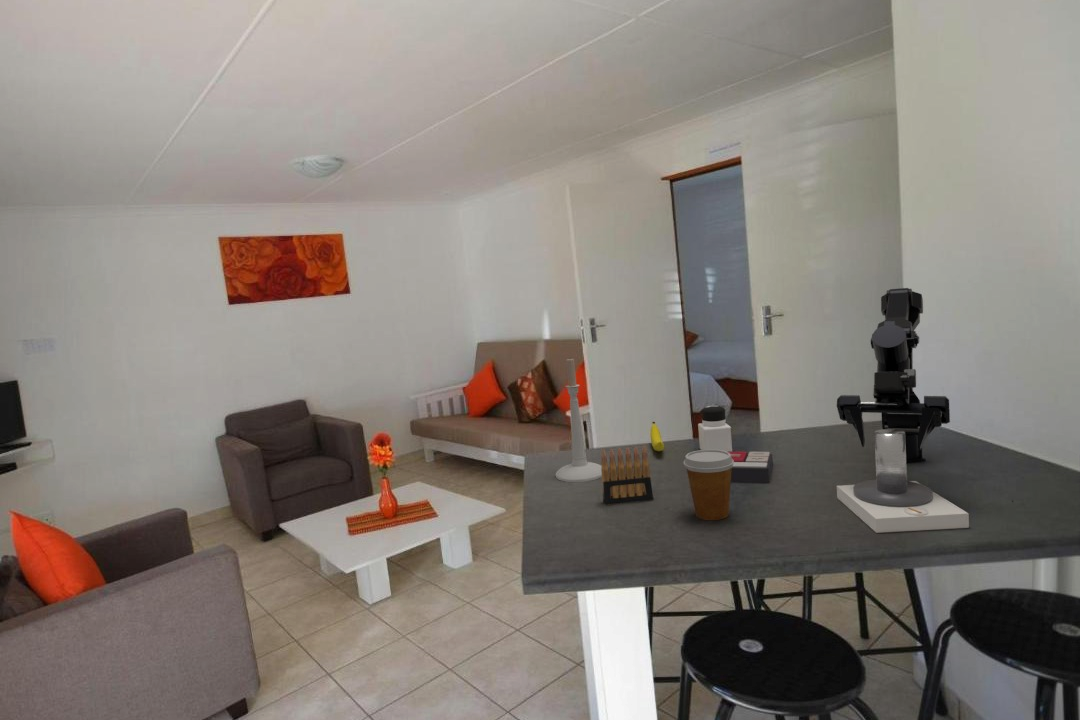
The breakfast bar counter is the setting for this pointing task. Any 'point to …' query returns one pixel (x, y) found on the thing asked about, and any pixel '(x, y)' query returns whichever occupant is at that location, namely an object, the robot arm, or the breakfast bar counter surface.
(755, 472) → the calculator
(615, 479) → the ammunition clip
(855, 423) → the robot arm
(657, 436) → the banana
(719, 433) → the medicine bottle
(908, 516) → the kitchen scale
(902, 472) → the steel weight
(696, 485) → the disposable coffee cup
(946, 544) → the breakfast bar counter surface
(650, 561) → the breakfast bar counter surface
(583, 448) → the candlestick
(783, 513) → the breakfast bar counter surface
